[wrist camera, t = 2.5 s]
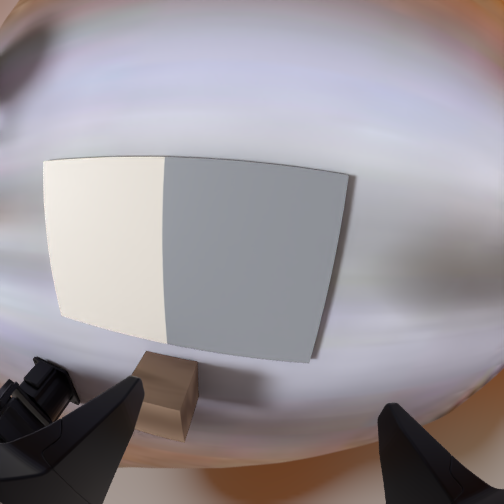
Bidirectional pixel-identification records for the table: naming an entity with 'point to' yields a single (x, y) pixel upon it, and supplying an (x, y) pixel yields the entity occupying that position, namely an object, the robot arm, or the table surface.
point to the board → (195, 250)
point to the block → (167, 395)
